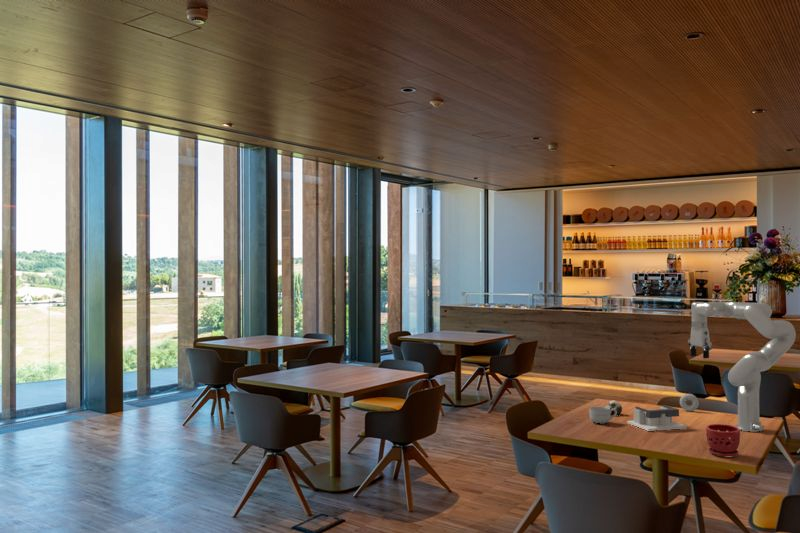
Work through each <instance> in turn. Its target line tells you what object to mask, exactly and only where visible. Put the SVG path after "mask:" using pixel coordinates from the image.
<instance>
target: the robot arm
mask: <svg viewBox="0 0 800 533" xmlns="http://www.w3.org/2000/svg"><path fill="white" fill-rule="evenodd" d="M690 311H691V328H690V329H691V330H690V338H688V339H687V343H688V346H689V349H690V356H691V357H696V356H697V347H700V348H702V350H703V351H702V358H703V359H709V358H710V350H711V348H712V345H713V343H712V341H710V339H711V338H710V332H709V328H708V317H711V318H712V317H734V318H735V319H737V320H747V321H748V322H749V324H750V325H752V327H753V328H754V329H755V330H757V332H758V333H760V334H761V335H762V336H763V337H765V338H767V339H770V341H768V342H767V343H765V345H763V347H762V348H761V349H760V350H758V351H755V352H749V353H746V354H745V355H743V357H741V358H740V359H739V360H738V361H737V363H735V364H734V365H733V366H732V367H731V369H729V371H728V373H727V379H728V380H727V381H728V382H729V383H730V384H731V385H732V386H733V387H738V389H737V424H734V426H735V427H737V428H739V429H740V431H741V430H742V431H741V432H748V431H750V433H759V431H760V432H763V431H764V429H765V425H762V422H761V421H760V386H761V380H762V378H761V377H762V376H761V372H766V371H768V370H769V369H771V368H772V367H773V366H774V365H775V364H776V363H777V362H778V361H779V360H780V359H781V358H782V357H783V355H785V354H786V353H787V352H788V351H789V350H790V349H791V347H792V346H793V345H794V343H795V341H796V336H797V333H796V329H795V326H794V325H793V324H792V322H789V321H788V320H784V319H775V320H772V319H771V316H772V314H773V310H772V308H771V306H770V305H768V304H767V303H762V302H744V301H743V302H742V301H737V302H732V301H709V302H705V301H693V302H692V303H691V310H690Z"/></svg>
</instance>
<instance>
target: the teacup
mask: <svg viewBox="0 0 800 533" xmlns="http://www.w3.org/2000/svg"><path fill="white" fill-rule="evenodd" d="M588 410H589V419H590V421H592V423H594V422H595V423H594V424H597V423H600V424H601V425H602V424H603V425H604V424H605V423H606V424H607V423H608V422H610V421H611V420H612V419H613V418H615V417H617V416H616V415H617V411H616V410H615V409H611V410H610V408H608V407H605V406H591V407H588ZM612 411H615V414H614V415H613V416H610V414H611V412H612ZM600 424H599V425H600Z"/></svg>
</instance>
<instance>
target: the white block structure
mask: <svg viewBox="0 0 800 533" xmlns="http://www.w3.org/2000/svg"><path fill="white" fill-rule="evenodd" d="M656 409H657V408H654V409H653V408H652V410H656ZM660 409H668V408H665V407H663V406H660ZM672 418H673V417H666V416H665V414H661V418H647V417H646V412H644V411H641V410H638V409H635V408H633V420H626V424H627V423H628V424H627V425H629V424H631V425H630V426H632V425H634V426H637V427H639V428H642V429H645V430H647V431H654V430H667V431H672V430H671V429H680V430H687V427H688V426H687V425H685V424H682V423H679V422H676V421H674V420H673V419H672ZM634 426H633V427H634ZM637 427H636V428H637ZM639 428H638V429H639ZM642 429H641V430H642ZM645 430H644V431H645ZM647 431H646V432H647ZM654 432H655V431H654Z"/></svg>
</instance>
